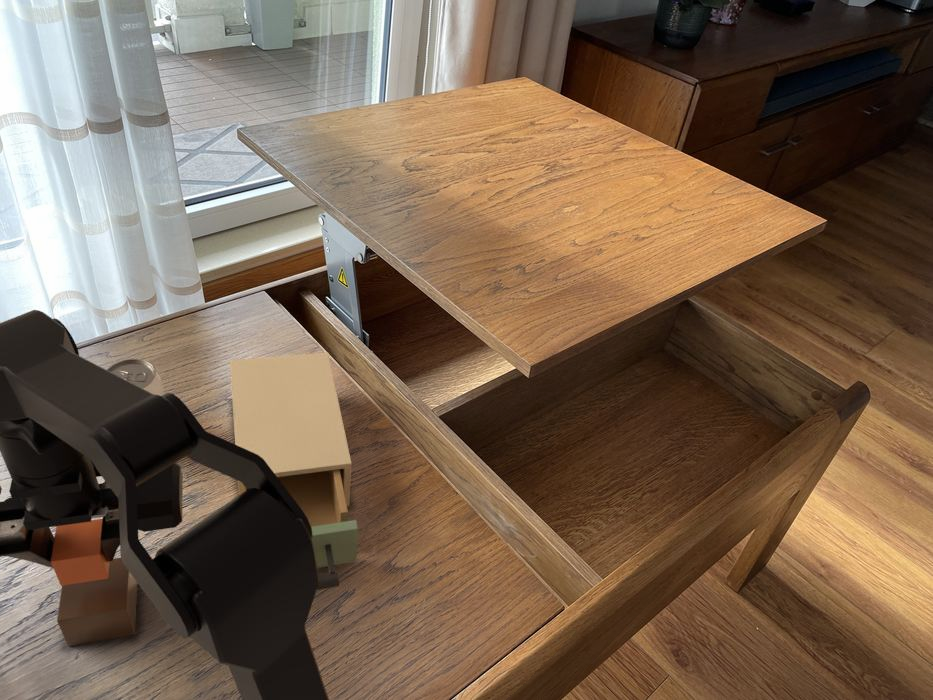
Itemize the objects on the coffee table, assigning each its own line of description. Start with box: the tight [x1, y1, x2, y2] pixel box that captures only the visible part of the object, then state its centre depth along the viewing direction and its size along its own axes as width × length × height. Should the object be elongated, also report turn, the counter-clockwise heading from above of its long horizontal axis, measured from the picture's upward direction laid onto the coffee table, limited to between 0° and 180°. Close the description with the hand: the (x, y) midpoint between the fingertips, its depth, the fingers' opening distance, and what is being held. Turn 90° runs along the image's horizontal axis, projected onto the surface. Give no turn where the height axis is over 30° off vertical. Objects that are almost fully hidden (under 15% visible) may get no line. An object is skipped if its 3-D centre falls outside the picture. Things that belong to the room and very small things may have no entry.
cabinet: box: [229, 352, 352, 507], centre depth 90 cm, size 20×13×8 cm, turn 16°
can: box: [106, 358, 165, 396], centre depth 87 cm, size 6×6×12 cm
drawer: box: [277, 469, 359, 591], centre depth 82 cm, size 23×11×6 cm, turn 16°
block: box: [51, 518, 110, 587], centre depth 66 cm, size 4×4×4 cm
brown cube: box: [56, 557, 139, 647], centre depth 72 cm, size 6×6×5 cm
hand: (86, 560), depth 67 cm, fingers closed on block, 4 cm apart
